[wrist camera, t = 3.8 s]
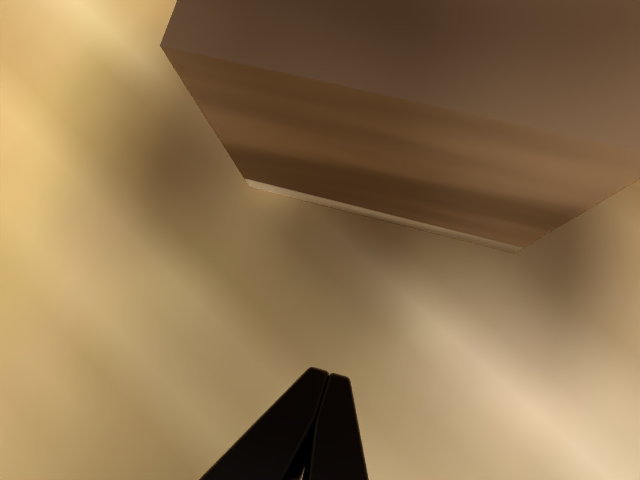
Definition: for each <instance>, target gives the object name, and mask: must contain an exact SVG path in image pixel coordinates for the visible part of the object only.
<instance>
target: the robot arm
mask: <svg viewBox="0 0 640 480" xmlns="http://www.w3.org/2000/svg"><path fill="white" fill-rule="evenodd" d="M303 471H304V473H303ZM302 474H303V477H302ZM301 477H302V480H369V479H368V473H367V468H366V463H365V457H364V452H363V447H362V441H361V436H360V430H359V425H358V420H357V414H356V409H355V403H354V398H353V393H352V387H351V382H350V379H349V378H348V377H346V376H342V375H339V374H335V373H331V374H330V375H329V373H328V372H327V371H325V370H322V369H318V368H315V367H310V368H309V369H307V370H306V371H305V372H304V373H303V374H302V375H301V376H300V377H299V378H298V379H297V380H296V381H295V383H294V384H293V385H292V386H291V387H290V388H289V389H288V390H287V391H286V392H285V393H284V394H283V395H282V396H281V397H280V398H279V399H278V400H277V401H276V402H275V403H274V404H273V405H272V406H271V407H270V408H269V409H268V410H267V411H266V412H265V413H264V414H263V415H262V416H261V417H260V418H259V419H258V420H257V421H256V422H255V423H254V424H253V425H252V426H251V427H250V428H249V429H248V430H247V431H246V432H245V433H244V434H243V435H242V436H241V437H240V438H239V439H238V440H237V441H236V442H235V443H234V444H233V445H232V447H231V448H230V449H229V450H228V451H227V452H226V453H225V454H224V455H223V456H222V457H221V458H220V459H219V460H218V461H217V462H216V463H215V464H214V465H213V466H212V467H211V468H210V469H209V470H208V471H207V472H206V473H205V474H204V475H203V476H202V477H201V478H200V479H199V480H301Z"/></svg>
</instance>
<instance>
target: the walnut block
mask: <svg viewBox="0 0 640 480" xmlns="http://www.w3.org/2000/svg"><path fill="white" fill-rule="evenodd" d="M160 46H161V48H162V50H163V51H164V53H165V54H166V56H167V57H168V59H169V61H170V62H171V64H172V65H173V67H174V68H175V70H176V72H177V73H178V75H179V76H180V78H181V79H182V81H183V83H184V84H185V86H186V87H187V89H188V90H189V92H190V94H191V95H192V97H193V98H194V100H195V101H196V103H197V105H198V106H199V108H200V109H201V111H202V112H203V114H204V116H205V117H206V119H207V120H208V122H209V123H210V125H211V127H212V128H213V130H214V131H215V133H216V134H217V136H218V138H219V139H220V141H221V142H222V144H223V146H224V147H225V149H226V150H227V152H228V153H229V155H230V157H231V158H232V160H233V161H234V163H235V164H236V166H237V168H238V169H239V171H240V172H241V174H242V175H243V177H244V179H245V180H246V182H247V183H248V185H249V186H250V187H252V188H256V189H260V190H264V191H268V192H272V193H276V194H280V195H284V196H288V197H292V198H296V199H300V200H304V201H308V202H312V203H316V204H320V205H324V206H328V207H332V208H336V209H340V210H344V211H348V212H352V213H356V214H360V215H364V216H368V217H372V218H375V219H379V220H383V221H387V222H391V223H395V224H399V225H403V226H407V227H411V228H415V229H419V230H423V231H427V232H431V233H435V234H439V235H443V236H447V237H451V238H455V239H459V240H463V241H467V242H471V243H475V244H479V245H483V246H487V247H491V248H495V249H499V250H503V251H507V252H511V253H515V252H517V251H519V250H520V249H522V248H524V247H525V246H527V245H529V244H530V243H532V242H534V241H535V240H537V239H539V238H541V237H542V236H544V235H546V234H547V233H549V232H551V231H552V230H554V229H556V228H557V227H559V226H561V225H562V224H564V223H566V222H567V221H569V220H571V219H573V218H574V217H576V216H578V215H579V214H581V213H583V212H584V211H586V210H588V209H589V208H591V207H593V206H594V205H596V204H598V203H600V202H601V201H603V200H605V199H606V198H608V197H610V196H611V195H613V194H615V193H616V192H618V191H620V190H621V189H623V188H625V187H627V186H628V185H630V184H632V183H633V182H635V181H637V180H638V179H640V0H177V3H176V5H175V8H174V11H173V13H172V16H171V18H170V21H169V24H168V26H167V29H166V31H165V34H164V37H163V39H162V42H161V45H160Z"/></svg>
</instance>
